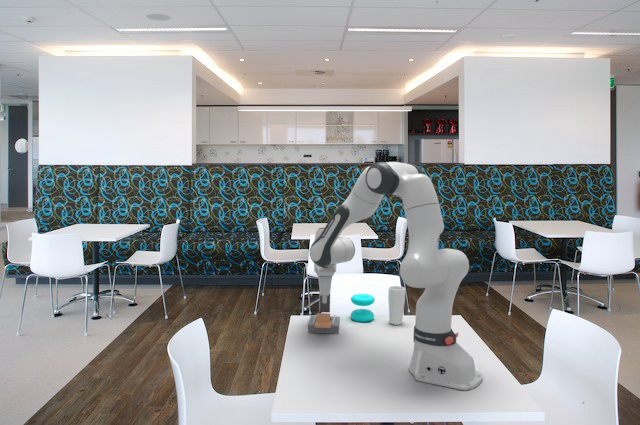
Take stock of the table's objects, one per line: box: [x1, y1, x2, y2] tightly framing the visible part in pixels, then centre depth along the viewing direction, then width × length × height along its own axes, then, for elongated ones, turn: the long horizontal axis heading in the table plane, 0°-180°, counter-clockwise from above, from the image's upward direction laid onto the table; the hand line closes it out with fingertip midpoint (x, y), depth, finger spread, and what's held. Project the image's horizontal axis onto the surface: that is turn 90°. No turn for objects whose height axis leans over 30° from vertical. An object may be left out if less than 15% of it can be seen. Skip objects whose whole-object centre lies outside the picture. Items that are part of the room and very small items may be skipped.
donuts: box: [350, 293, 376, 323], centre depth 212 cm, size 10×10×10 cm
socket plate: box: [307, 313, 341, 335], centre depth 200 cm, size 12×12×4 cm
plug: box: [318, 289, 331, 313], centre depth 200 cm, size 4×4×9 cm
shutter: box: [315, 312, 332, 328], centre depth 193 cm, size 6×6×4 cm
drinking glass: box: [387, 285, 406, 326], centre depth 206 cm, size 7×7×15 cm
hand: (324, 300), depth 200 cm, fingers closed on plug, 4 cm apart
